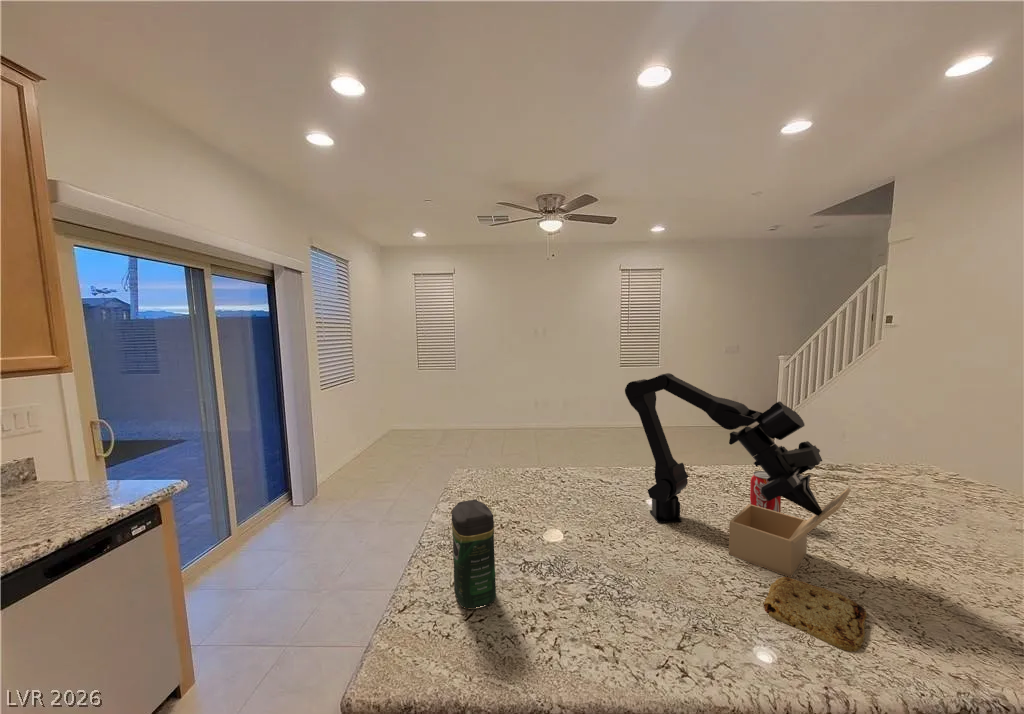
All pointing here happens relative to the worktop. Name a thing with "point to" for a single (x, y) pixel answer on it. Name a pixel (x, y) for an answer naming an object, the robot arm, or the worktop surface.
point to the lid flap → (822, 515)
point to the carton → (767, 539)
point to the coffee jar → (473, 554)
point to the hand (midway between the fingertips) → (820, 514)
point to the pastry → (817, 612)
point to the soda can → (757, 498)
